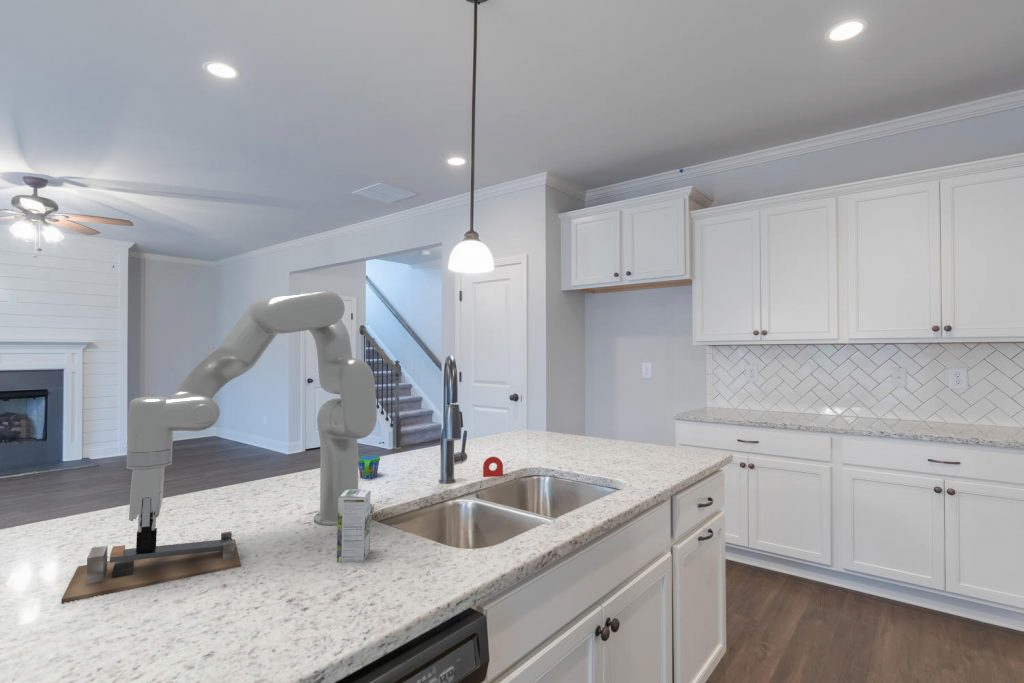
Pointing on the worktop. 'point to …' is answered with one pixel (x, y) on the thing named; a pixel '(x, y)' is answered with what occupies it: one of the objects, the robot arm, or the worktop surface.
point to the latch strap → (167, 550)
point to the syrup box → (353, 525)
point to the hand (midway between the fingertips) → (146, 550)
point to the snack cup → (368, 466)
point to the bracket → (496, 472)
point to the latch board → (145, 570)
